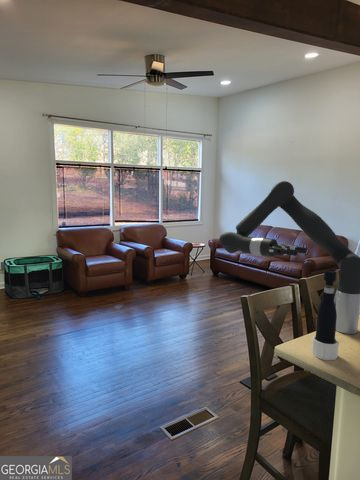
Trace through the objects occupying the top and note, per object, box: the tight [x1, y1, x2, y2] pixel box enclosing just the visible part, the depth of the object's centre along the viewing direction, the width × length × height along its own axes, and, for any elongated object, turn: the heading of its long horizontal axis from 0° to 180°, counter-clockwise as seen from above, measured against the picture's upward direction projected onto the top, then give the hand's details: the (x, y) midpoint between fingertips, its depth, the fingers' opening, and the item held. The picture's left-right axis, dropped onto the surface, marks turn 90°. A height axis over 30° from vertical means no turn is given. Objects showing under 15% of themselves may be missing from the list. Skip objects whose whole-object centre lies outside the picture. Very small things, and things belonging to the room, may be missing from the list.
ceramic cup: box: [311, 334, 340, 361], centre depth 125 cm, size 8×8×6 cm
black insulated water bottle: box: [315, 269, 337, 344], centre depth 123 cm, size 6×6×30 cm
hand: (302, 251), depth 131 cm, fingers open, 8 cm apart
